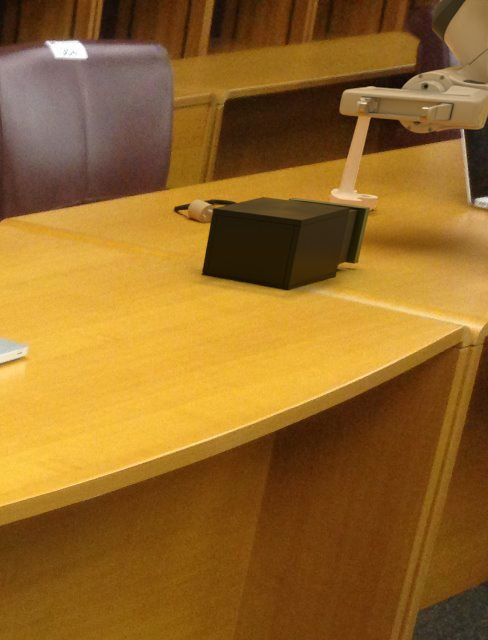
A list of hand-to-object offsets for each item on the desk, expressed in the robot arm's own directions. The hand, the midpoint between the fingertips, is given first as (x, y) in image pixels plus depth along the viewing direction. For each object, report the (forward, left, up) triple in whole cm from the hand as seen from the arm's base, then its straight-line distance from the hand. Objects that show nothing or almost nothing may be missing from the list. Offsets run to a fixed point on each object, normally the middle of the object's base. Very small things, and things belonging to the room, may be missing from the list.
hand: (392, 111), depth 227 cm
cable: (+18, -25, -20) cm, 36 cm away
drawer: (+12, +17, -19) cm, 28 cm away
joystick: (-7, -39, -20) cm, 44 cm away
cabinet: (+19, +25, -20) cm, 37 cm away
